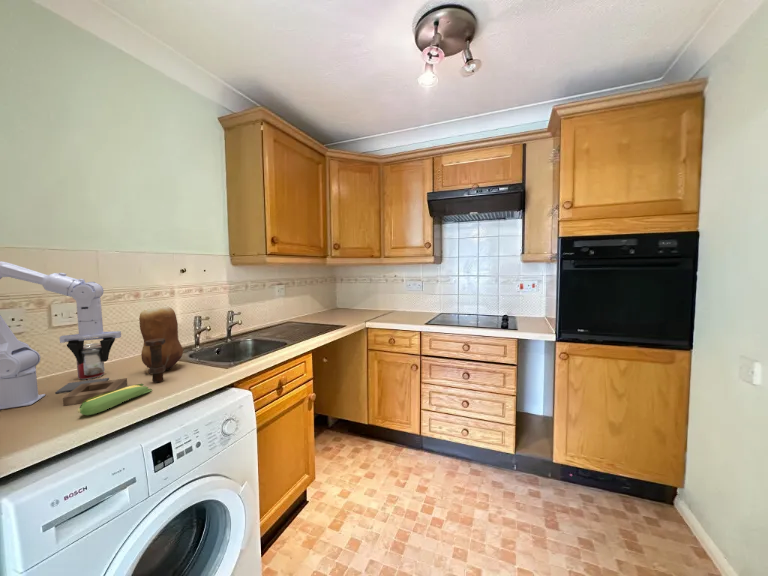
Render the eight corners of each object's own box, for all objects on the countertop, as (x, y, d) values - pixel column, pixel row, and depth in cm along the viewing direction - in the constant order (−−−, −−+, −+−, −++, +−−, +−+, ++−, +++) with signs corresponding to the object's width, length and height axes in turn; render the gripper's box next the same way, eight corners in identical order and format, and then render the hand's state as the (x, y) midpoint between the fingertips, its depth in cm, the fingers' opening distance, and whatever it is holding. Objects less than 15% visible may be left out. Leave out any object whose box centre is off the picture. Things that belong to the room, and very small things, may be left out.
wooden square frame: (63, 406, 92) (62, 397, 92) (81, 391, 103) (81, 384, 103) (115, 398, 97) (114, 390, 97) (127, 385, 108) (126, 378, 108)
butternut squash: (150, 366, 129) (146, 306, 127) (188, 362, 133) (184, 304, 131) (135, 377, 116) (130, 310, 114) (177, 373, 120) (173, 308, 118)
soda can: (105, 376, 117) (103, 345, 117) (78, 382, 112) (75, 349, 111) (103, 372, 122) (101, 342, 122) (77, 377, 117) (74, 345, 116)
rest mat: (55, 393, 102) (55, 392, 101) (69, 384, 110) (68, 382, 110) (99, 387, 106) (99, 386, 106) (109, 379, 114) (108, 377, 114)
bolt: (165, 377, 115) (162, 337, 114) (170, 380, 112) (167, 339, 111) (146, 382, 110) (143, 340, 109) (150, 385, 107) (147, 342, 106)
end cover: (79, 376, 97) (76, 351, 97) (87, 371, 102) (84, 347, 102) (102, 373, 99) (100, 349, 99) (109, 368, 104) (107, 345, 104)
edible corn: (72, 418, 85) (71, 402, 84) (146, 390, 104) (145, 377, 104) (86, 421, 83) (84, 404, 83) (158, 391, 102) (157, 378, 102)
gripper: (52, 324, 93) (56, 369, 94) (114, 320, 99) (117, 362, 100) (64, 320, 99) (68, 362, 100) (122, 317, 105) (125, 356, 106)
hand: (93, 362), depth 101 cm, fingers closed on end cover, 5 cm apart
